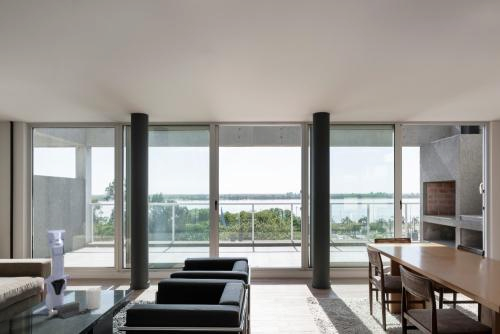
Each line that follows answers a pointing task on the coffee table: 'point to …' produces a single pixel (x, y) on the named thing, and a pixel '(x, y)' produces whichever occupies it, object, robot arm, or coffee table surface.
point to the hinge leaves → (68, 310)
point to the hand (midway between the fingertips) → (57, 294)
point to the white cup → (93, 298)
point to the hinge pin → (52, 313)
